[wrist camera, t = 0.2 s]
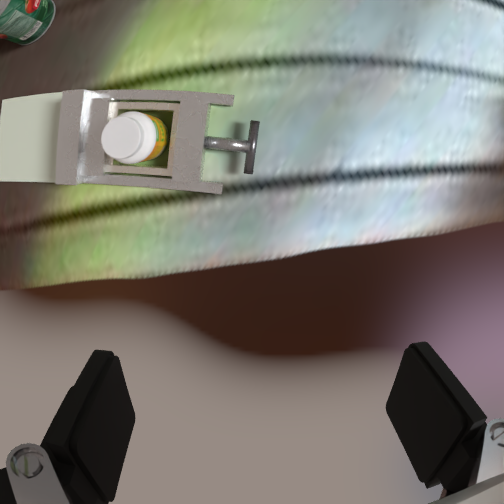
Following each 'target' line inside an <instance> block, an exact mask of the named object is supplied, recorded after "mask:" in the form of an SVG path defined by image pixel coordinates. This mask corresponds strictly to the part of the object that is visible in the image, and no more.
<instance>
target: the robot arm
mask: <svg viewBox="0 0 504 504" xmlns="http://www.w3.org/2000/svg"><path fill="white" fill-rule="evenodd" d="M386 411H387V414H388V416H389V418H390V420H391V422H392V424H393V426H394V428H395V430H396V432H397V434H398V437H399V439H400V440H401V443H402V445H403V446H404V449H405V451H406V453H407V455H408V457H409V459H410V461H411V464H412V466H413V468H414V470H415V472H416V474H417V476H418V479H419V480H420V481H421V482H424V483H425V486H426V488H427V489H428V488H430V487H433V486H436V485H438V484H440V483H441V484H442V486H443V490H442V493H441V496H440V499H439V500H437V501H434V502H431V503H429V504H504V419H494V420H492V421H491V422H490V423H489V424H488V425H487V424H486V422H485V421H486V419H487V417H486V415H485V414H484V412H483V411H482V410H481V408H480V407H479V406H478V404H477V403H476V402H475V401H474V399H473V398H472V397H471V395H470V394H469V393H468V392H467V390H466V389H465V388H464V387H463V385H462V384H461V383H460V381H459V380H458V379H457V378H456V377H455V375H454V374H453V373H452V371H451V370H450V369H449V368H448V367H447V365H446V364H445V363H444V362H443V360H442V359H441V358H440V357H439V356H438V354H437V353H436V352H435V351H434V349H433V348H432V347H431V346H430V345H429V344H428V343H427V342H418V343H412V344H410V345H409V347H408V348H407V349H406V350H405V351H404V354H403V357H402V360H401V363H400V367H399V370H398V372H397V375H396V378H395V381H394V385H393V387H392V390H391V392H390V395H389V398H388V401H387V403H386ZM134 423H135V412H134V409H133V406H132V402H131V400H130V396H129V393H128V389H127V386H126V382H125V378H124V375H123V371H122V367H121V364H120V360H119V357H118V356H114V353H113V352H112V351H105V350H94V352H93V353H92V355H91V357H90V358H89V360H88V362H87V363H86V365H85V367H84V369H83V371H82V372H81V374H80V376H79V378H78V379H77V381H76V383H75V385H74V386H72V387H71V388H70V390H69V391H68V393H67V395H66V396H65V398H64V400H63V402H62V404H61V406H60V408H59V409H58V411H57V413H56V415H55V417H54V419H53V421H52V423H51V425H50V427H49V429H48V431H47V433H46V435H45V437H44V439H43V441H42V443H41V445H40V446H38V445H36V444H31V443H27V444H21V445H19V446H17V447H15V448H14V449H13V450H11V452H10V453H9V455H8V457H7V460H6V468H3V469H0V504H108V503H109V501H110V502H112V501H113V500H114V498H115V494H116V490H117V486H118V482H119V478H120V474H121V471H122V467H123V463H124V459H125V456H126V452H127V448H128V445H129V441H130V438H131V434H132V430H133V427H134Z"/></svg>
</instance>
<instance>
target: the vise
mask: <svg viewBox="0 0 504 504" xmlns="http://www.w3.org/2000/svg"><path fill="white" fill-rule="evenodd" d="M119 100H146V101H174V102H180V104H177V103H153V102H120V101H119ZM233 102H234V95H227V94H217V93H205V92H191V91H172V90H98V91H89V90H85V89H81V90H68V91H63V93H62V101H61V109H60V118H59V128H58V140H57V156H56V184H65V185H78V184H81V183H93V184H110V185H125V186H139V187H152V188H164V189H176V190H186V191H197V192H207V193H216V194H222V188H223V183H220V182H211V181H201V180H202V176H203V167H204V158H205V150H206V148H207V149H217V150H226V151H235V152H244V153H246V159H245V167H244V173H246V174H253V167H254V160H255V153H256V145H257V138H258V131H259V123H260V122H259V121H252V120H251V122H250V129H249V137H248V141H247V140H239V139H230V138H221V137H211V136H207V133H208V125H209V118H210V110H211V104H216V105H226V106H233ZM125 111H161V112H174V113H173V121H172V129H171V137H170V147H169V156H168V167H165V166H151V165H135V164H120V162H118V161H117V160H115V159H114V158H112V157H110V156H109V155H108V154H107V153H106V152H105V151H104V149H103V147H102V144H101V135H102V131H103V129H104V127H105V126H106V124H107V123H108V122H109V121H111V120H112V119H114V118H116V117H117V116H119V115H120V114H122V113H125ZM114 172H118V173H134V174H149V175H162V176H172V178H167V177H155V176H141V175H125V174H112V173H114Z"/></svg>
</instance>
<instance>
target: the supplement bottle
mask: <svg viewBox="0 0 504 504" xmlns="http://www.w3.org/2000/svg"><path fill="white" fill-rule="evenodd" d="M168 140H169V133H168V129H167V127H166V125H165V124H164V123H163V121H161V120H160V119H159V118H157V117H154V116H151V115H147V114H144V113H141V112H135V111H130V112H125V113H122V114H120V115H119V116H117V117H116V118H114V119H112V120H111V121H109V122H108V123H107V124H106V126H105V127H104V129H103V131H102V135H101V144H102V147H103V149H104V151H105V152H106V153H107V154H108V155H109V156H110V157H112V158H114V159H115V160H117V161H118V162H121V163H124V164H134V163H139V162H143V161H148V160H152V159H154V158H156V157H158V156H159V155H161V154H162V153H163V152H164V150H165V149H166V147H167V144H168Z"/></svg>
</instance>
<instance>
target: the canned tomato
mask: <svg viewBox="0 0 504 504" xmlns="http://www.w3.org/2000/svg"><path fill="white" fill-rule="evenodd" d="M54 16H55V4H54V2H53V1H52V0H0V38H3V39H6V40H9V41H12V42H15V43H18V44H20V45H28V44H31V43H33V42H35V41H36V40H38V39H39V38H40V37H41V36H42V35H43V34H44V33H45V32H46V31H47V30H48V28H49V27H50V25H51V23H52V21H53V19H54Z"/></svg>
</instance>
